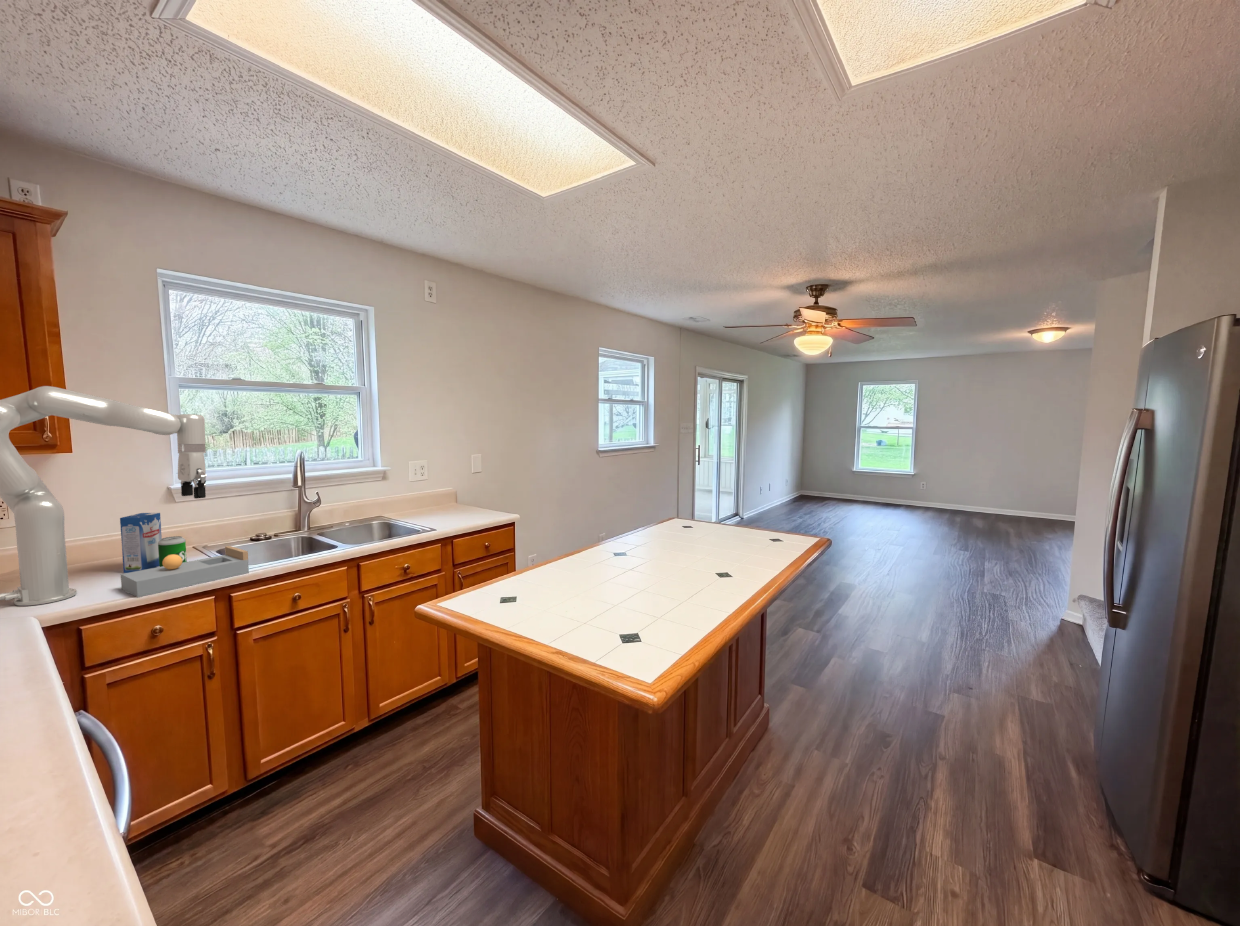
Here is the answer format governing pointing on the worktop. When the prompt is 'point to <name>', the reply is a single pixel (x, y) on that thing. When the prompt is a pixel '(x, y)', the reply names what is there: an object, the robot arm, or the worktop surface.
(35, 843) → the worktop surface
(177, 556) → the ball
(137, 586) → the grey long boxy piece
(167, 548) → the soda can
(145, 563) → the milk carton
